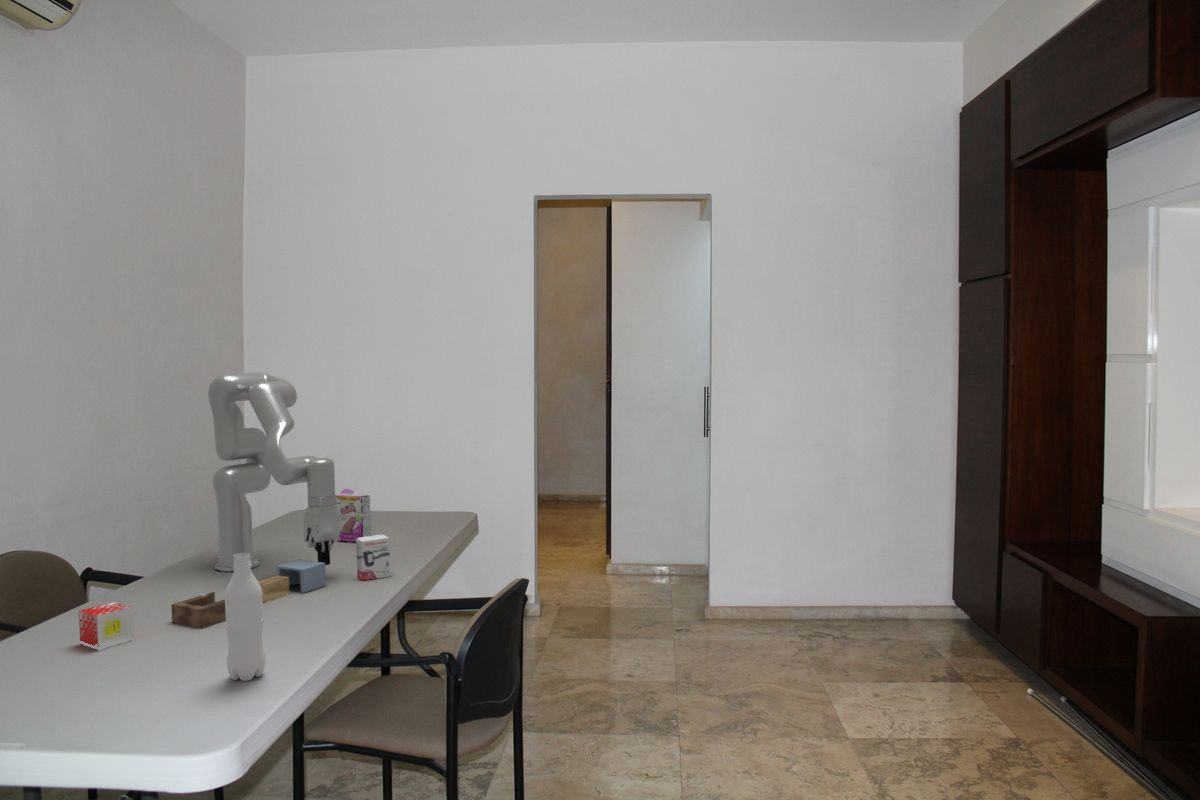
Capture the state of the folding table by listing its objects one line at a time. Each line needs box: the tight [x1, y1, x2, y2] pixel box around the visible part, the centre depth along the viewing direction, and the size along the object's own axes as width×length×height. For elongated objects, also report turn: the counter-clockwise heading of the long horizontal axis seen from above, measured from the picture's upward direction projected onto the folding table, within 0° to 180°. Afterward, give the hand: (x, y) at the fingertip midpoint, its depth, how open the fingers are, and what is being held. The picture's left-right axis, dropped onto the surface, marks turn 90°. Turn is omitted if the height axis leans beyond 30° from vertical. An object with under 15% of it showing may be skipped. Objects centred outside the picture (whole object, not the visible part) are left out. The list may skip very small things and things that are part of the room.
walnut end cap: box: [170, 591, 226, 629], centre depth 211 cm, size 12×12×4 cm
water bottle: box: [223, 553, 266, 682], centre depth 171 cm, size 7×7×25 cm
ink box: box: [355, 534, 391, 582], centre depth 247 cm, size 8×5×12 cm, turn 123°
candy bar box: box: [335, 493, 372, 543], centre depth 296 cm, size 11×5×16 cm, turn 71°
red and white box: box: [77, 601, 135, 647], centre depth 194 cm, size 8×8×8 cm
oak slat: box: [258, 576, 290, 604], centre depth 225 cm, size 4×16×5 cm, turn 155°
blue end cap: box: [275, 559, 327, 593], centre depth 237 cm, size 10×8×6 cm
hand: (324, 564), depth 245 cm, fingers closed
